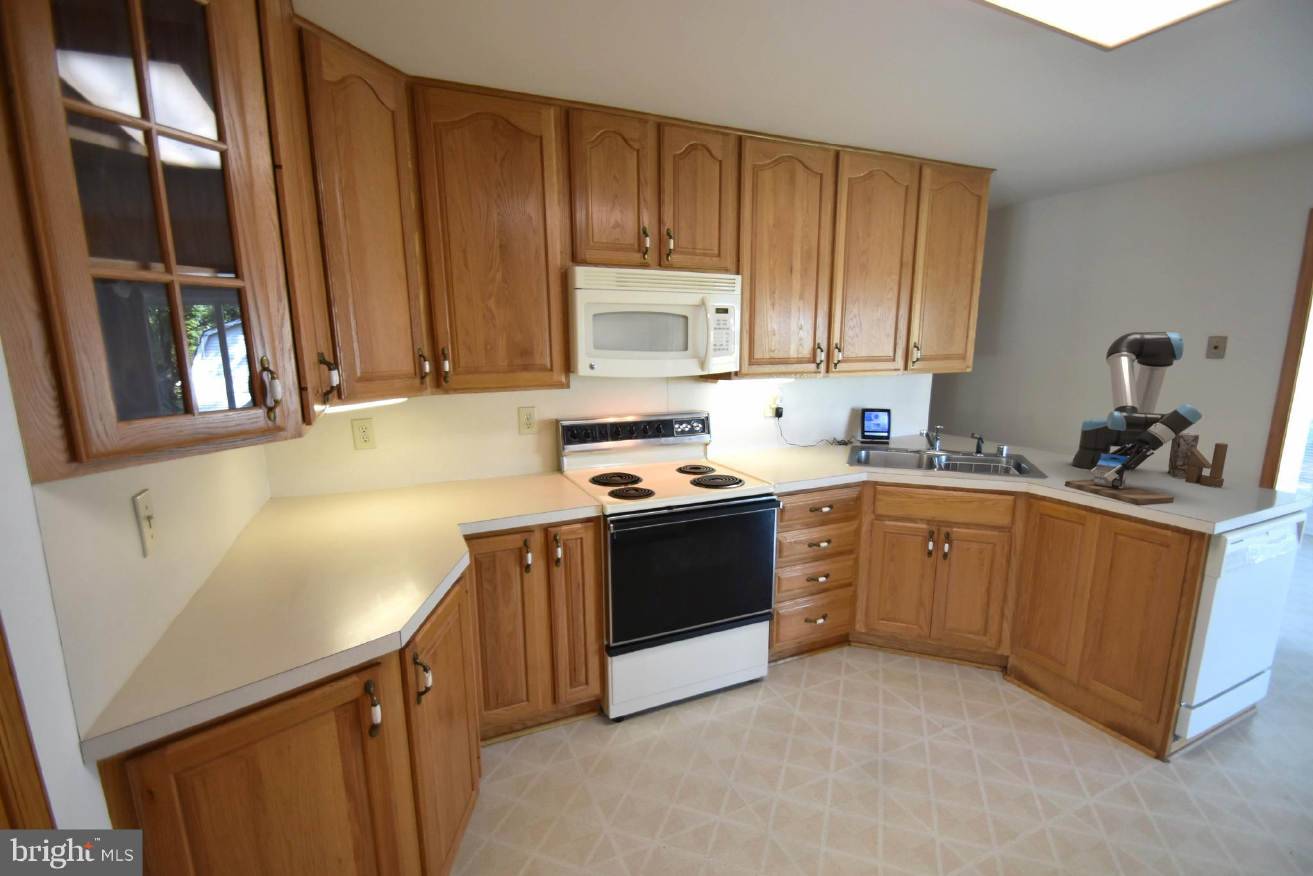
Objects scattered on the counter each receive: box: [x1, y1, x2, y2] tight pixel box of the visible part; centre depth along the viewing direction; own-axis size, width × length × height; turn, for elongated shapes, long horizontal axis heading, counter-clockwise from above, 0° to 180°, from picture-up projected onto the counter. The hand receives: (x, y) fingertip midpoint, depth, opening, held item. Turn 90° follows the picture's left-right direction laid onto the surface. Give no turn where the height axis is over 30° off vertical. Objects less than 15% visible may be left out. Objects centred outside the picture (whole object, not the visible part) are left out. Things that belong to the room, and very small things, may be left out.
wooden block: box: [1185, 442, 1229, 488], centre depth 219 cm, size 4×11×18 cm, turn 16°
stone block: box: [1167, 430, 1200, 480], centre depth 234 cm, size 13×7×20 cm, turn 153°
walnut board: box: [1064, 478, 1175, 506], centre depth 206 cm, size 28×16×2 cm, turn 12°
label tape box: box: [1093, 453, 1129, 489], centre depth 208 cm, size 9×4×12 cm, turn 35°
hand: (1100, 475), depth 209 cm, fingers closed on label tape box, 8 cm apart
